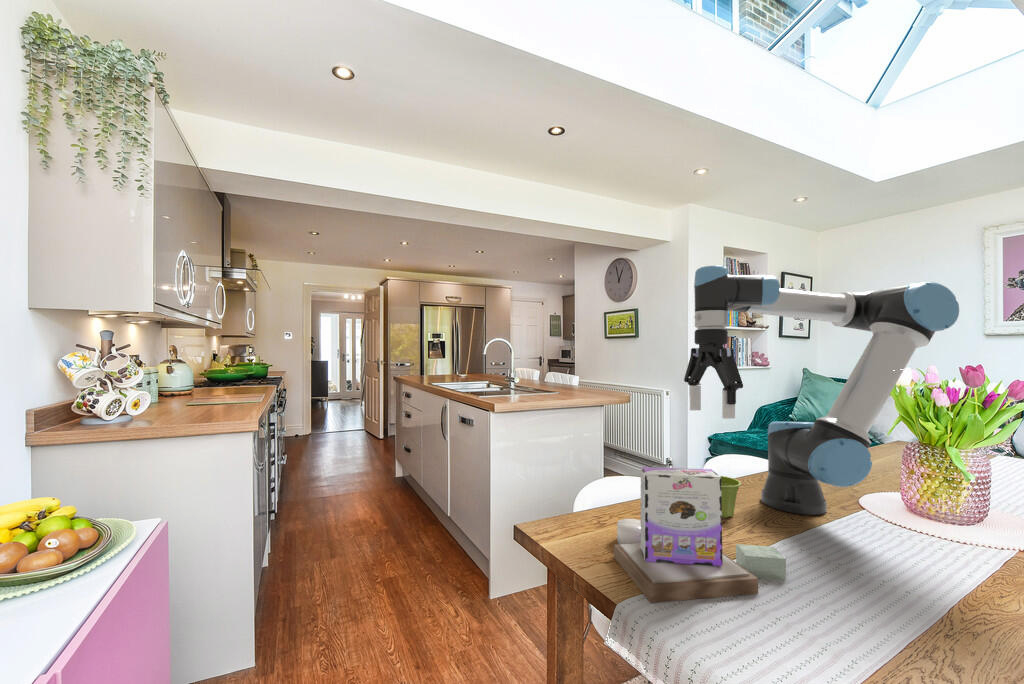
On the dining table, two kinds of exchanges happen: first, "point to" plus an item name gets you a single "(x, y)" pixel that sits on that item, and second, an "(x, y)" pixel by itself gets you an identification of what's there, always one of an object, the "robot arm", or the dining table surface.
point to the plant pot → (728, 495)
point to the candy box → (681, 516)
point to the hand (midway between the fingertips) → (710, 414)
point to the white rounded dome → (628, 531)
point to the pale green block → (761, 561)
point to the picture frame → (683, 577)
